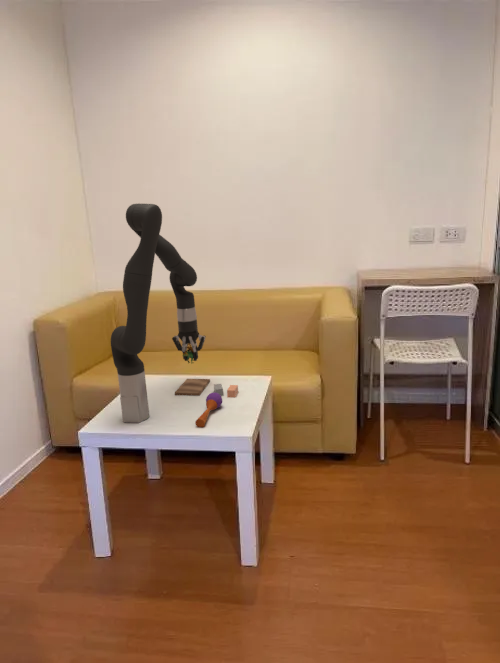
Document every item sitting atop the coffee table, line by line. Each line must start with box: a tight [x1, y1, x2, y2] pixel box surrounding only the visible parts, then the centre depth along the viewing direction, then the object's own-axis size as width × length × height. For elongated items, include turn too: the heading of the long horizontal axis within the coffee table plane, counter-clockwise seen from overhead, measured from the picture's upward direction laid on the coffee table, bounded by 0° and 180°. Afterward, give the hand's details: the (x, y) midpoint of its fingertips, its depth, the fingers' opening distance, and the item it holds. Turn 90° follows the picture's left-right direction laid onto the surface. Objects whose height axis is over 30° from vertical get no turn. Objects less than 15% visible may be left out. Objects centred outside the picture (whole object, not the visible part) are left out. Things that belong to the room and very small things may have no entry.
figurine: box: [182, 344, 198, 365], centre depth 208 cm, size 3×12×8 cm, turn 158°
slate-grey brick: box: [213, 383, 224, 397], centre depth 204 cm, size 6×3×3 cm, turn 9°
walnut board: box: [174, 378, 211, 397], centre depth 211 cm, size 16×10×1 cm, turn 169°
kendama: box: [194, 391, 223, 428], centre depth 183 cm, size 6×6×20 cm
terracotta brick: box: [226, 384, 239, 398], centre depth 202 cm, size 6×3×3 cm, turn 169°
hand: (191, 360), depth 208 cm, fingers closed on figurine, 3 cm apart
